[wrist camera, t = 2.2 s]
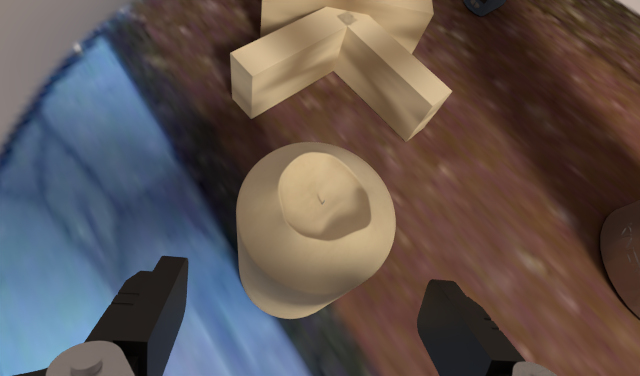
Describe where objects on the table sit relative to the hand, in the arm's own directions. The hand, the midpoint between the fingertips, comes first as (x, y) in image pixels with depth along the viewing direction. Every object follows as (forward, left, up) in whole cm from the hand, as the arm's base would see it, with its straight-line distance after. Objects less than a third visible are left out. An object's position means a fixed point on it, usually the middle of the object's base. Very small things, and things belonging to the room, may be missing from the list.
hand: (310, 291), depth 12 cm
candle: (0, -3, -8) cm, 8 cm away
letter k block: (-2, -17, -8) cm, 18 cm away
